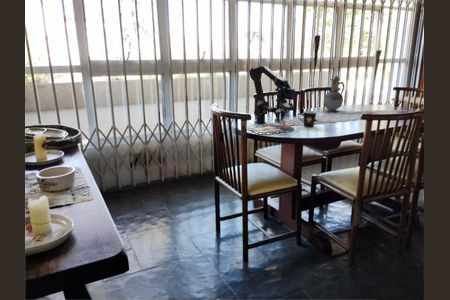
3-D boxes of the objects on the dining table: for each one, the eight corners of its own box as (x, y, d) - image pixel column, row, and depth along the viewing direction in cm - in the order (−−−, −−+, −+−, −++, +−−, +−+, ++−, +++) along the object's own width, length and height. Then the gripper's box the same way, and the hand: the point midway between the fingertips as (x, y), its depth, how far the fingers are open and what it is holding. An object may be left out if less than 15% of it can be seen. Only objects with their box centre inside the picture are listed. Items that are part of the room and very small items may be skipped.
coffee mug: (317, 126, 225) (318, 112, 222) (311, 128, 219) (312, 113, 216) (302, 123, 233) (303, 109, 230) (296, 125, 226) (297, 111, 223)
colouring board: (247, 129, 214) (247, 127, 214) (270, 127, 222) (270, 125, 221) (260, 135, 201) (260, 133, 200) (284, 132, 208) (284, 130, 208)
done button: (281, 128, 214) (282, 125, 213) (287, 127, 216) (287, 124, 215) (286, 129, 210) (286, 126, 209) (291, 129, 212) (292, 126, 211)
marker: (274, 121, 224) (274, 118, 223) (277, 121, 225) (277, 118, 224) (282, 124, 216) (282, 121, 216) (285, 124, 217) (285, 120, 217)
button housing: (279, 129, 214) (280, 126, 214) (287, 128, 217) (287, 125, 217) (285, 132, 209) (285, 129, 208) (293, 130, 212) (293, 128, 211)
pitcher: (320, 110, 281) (324, 75, 272) (336, 109, 290) (340, 74, 281) (330, 113, 272) (334, 76, 263) (346, 111, 281) (350, 75, 272)
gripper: (276, 100, 205) (275, 125, 209) (300, 99, 213) (298, 122, 217) (266, 98, 214) (265, 121, 219) (289, 96, 222) (288, 119, 227)
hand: (279, 121), depth 220 cm, fingers closed on marker, 2 cm apart
